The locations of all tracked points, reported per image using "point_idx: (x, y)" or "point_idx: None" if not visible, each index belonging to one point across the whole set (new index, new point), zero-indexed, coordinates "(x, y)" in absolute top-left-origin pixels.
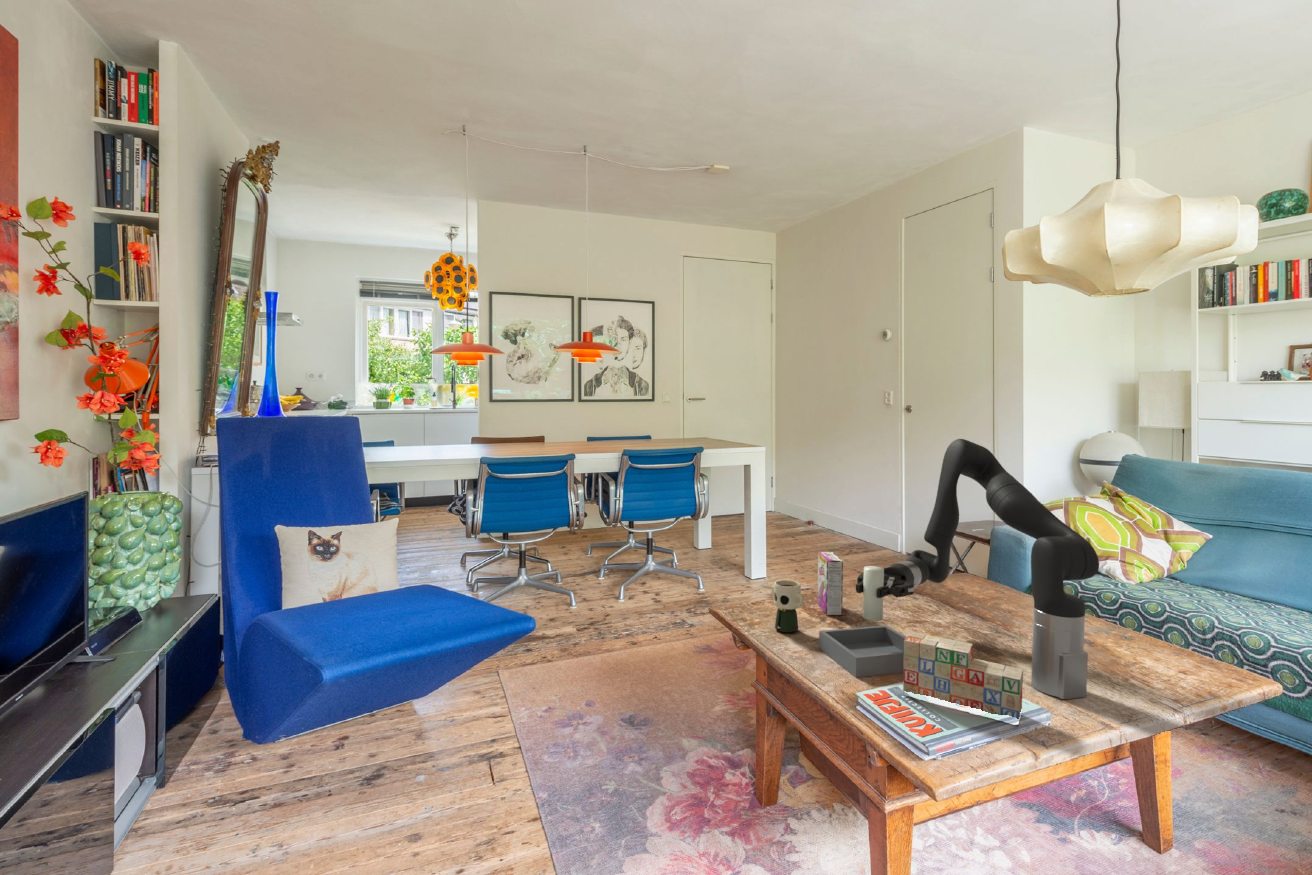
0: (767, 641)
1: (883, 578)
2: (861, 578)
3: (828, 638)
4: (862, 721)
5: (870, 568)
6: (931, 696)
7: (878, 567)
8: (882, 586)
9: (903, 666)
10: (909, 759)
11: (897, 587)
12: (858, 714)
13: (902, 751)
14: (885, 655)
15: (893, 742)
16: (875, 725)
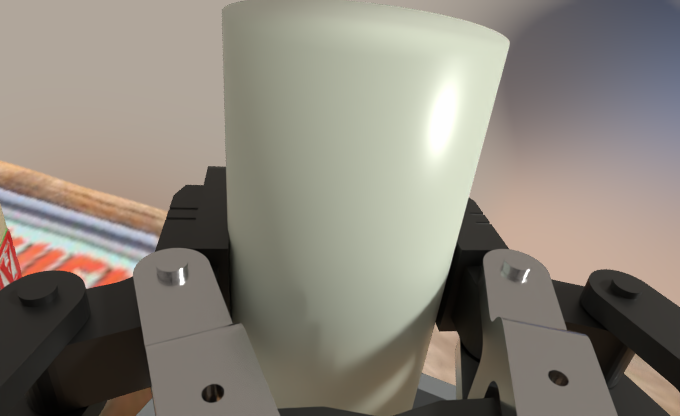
0: (648, 377)
1: (226, 144)
2: (598, 290)
3: (455, 390)
4: (123, 209)
5: (391, 19)
6: None
7: (364, 44)
8: (227, 218)
9: (20, 271)
10: (4, 173)
11: (34, 278)
12: (141, 221)
13: (20, 181)
14: (146, 405)
15: (42, 190)
16: (92, 211)
